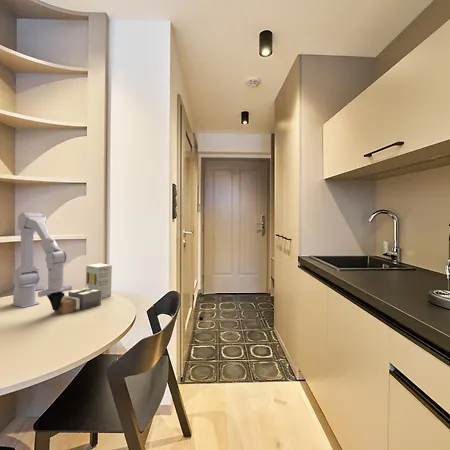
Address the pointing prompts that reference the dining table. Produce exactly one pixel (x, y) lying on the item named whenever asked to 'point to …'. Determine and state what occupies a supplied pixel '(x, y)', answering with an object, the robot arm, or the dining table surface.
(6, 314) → the dining table surface
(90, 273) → the supplement box
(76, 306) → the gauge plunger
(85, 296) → the gauge housing
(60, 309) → the walnut block
